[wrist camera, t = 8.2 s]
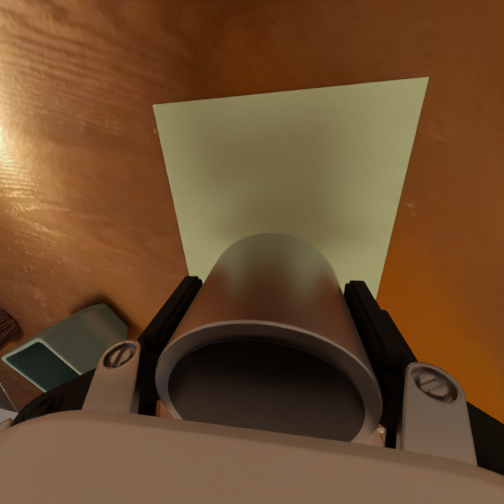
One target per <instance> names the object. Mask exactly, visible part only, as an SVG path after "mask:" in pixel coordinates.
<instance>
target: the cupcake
mask: <svg viewBox="0 0 504 504" xmlns="http://www.w3.org/2000/svg"><path fill="white" fill-rule="evenodd" d="M18 333H19V328H18V327H17V324H16V323H15V321H14V320H13V319H12V318H10V317H9V316H8V315H7V314H6V313H5V312H4V311H2V310H1V309H0V351H1V350H2V349H3V348H4V347H5V346H6V345H7V344H8V343H9V342H11V341H12V340H13V339H14V338H15V337H16V336H17V335H18Z"/></svg>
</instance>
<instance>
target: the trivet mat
mask: <svg viewBox="0 0 504 504" xmlns="http://www.w3.org/2000/svg"><path fill="white" fill-rule="evenodd" d="M428 79H429V77H422V78H412V79H402V80H392V81H382V82H373V83H363V84H353V85H343V86H333V87H323V88H313V89H304V90H294V91H284V92H274V93H264V94H254V95H245V96H235V97H225V98H215V99H205V100H195V101H185V102H176V103H166V104H156V105H153V109H154V114H155V119H156V123H157V128H158V132H159V137H160V142H161V146H162V151H163V156H164V160H165V165H166V170H167V174H168V179H169V183H170V188H171V193H172V197H173V202H174V207H175V211H176V216H177V220H178V225H179V230H180V234H181V239H182V244H183V248H184V253H185V258H186V262H187V267H188V271H189V276H198V278H199V279H201V280H202V283H204V282H205V280H206V278H207V277H208V275H209V273H210V272H211V270H212V268H213V267H214V265H215V263H216V261H217V260H218V258H219V257H220V255H221V254H222V253H223V252H224V251H225V250H226V249H227V248H228V247H229V246H231V245H232V244H234V243H235V242H237V241H239V240H241V239H243V238H246V237H249V236H252V235H256V234H263V233H280V234H285V235H290V236H293V237H297V238H299V239H301V240H304V241H306V242H308V243H309V244H311V245H312V246H314V247H315V248H317V249H318V250H319V251H320V252H321V253H322V254H323V255H324V256H325V257H326V258H327V260H328V261H329V263H330V264H331V266H332V268H333V270H334V272H335V274H336V277H337V280H338V282H339V285H340V287H341V290H342V292H343V294H344V288H345V284H346V283H349V282H350V280H359V281H364V282H365V283H366V285H367V287H368V288H369V290H370V292H371V293H372V295H373V297H374V299H375V300H376V296H377V292H378V288H379V283H380V279H381V275H382V271H383V267H384V263H385V258H386V254H387V250H388V246H389V242H390V237H391V233H392V229H393V225H394V221H395V217H396V212H397V208H398V204H399V200H400V196H401V192H402V187H403V183H404V179H405V175H406V171H407V166H408V162H409V158H410V154H411V150H412V146H413V141H414V137H415V133H416V129H417V125H418V121H419V116H420V112H421V108H422V104H423V100H424V95H425V91H426V87H427V83H428Z"/></svg>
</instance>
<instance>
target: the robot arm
mask: <svg viewBox="0 0 504 504" xmlns="http://www.w3.org/2000/svg"><path fill="white" fill-rule="evenodd" d="M202 285H203V283H202V280H201V279H199V278H198V276H186V277H185V278H184V279H183V281H182V282H181V283H180V285H179V286H178V287H177V288H176V290H175V291H174V292H173V294H172V295H171V296H170V298H169V299H168V300H167V301H166V303H165V304H164V305H163V307H162V308H161V309H160V311H159V312H158V313H157V315H156V316H155V317H154V318H153V320H152V321H151V322H150V324H149V325H148V326H147V328H146V329H145V330H144V331H143V333H142V334H141V335H140V337H139V338H138V339H137V341H136V340H124V341H121V342H119V343H116V344H115V345H113V346H111V347H110V348H109V349H107V350H106V351H105V352H104V353H103V355H102V356H101V358H100V360H99V362H98V365H97V367H96V368H94V369H92V370H90V371H88V372H86V373H84V374H82V375H80V376H78V377H76V378H74V379H72V380H70V381H68V382H65V383H63V384H61V385H59V386H57V387H55V388H53V389H51V390H49V391H47V392H45V393H43V394H42V395H40V396H38V397H37V398H35V399H34V400H32V401H31V402H30V403H28V404H27V405H26V406H25V407H24V408H23V409H22V410H21V411H20V412H19V414H18V415H17V416H16V418H15V419H14V420H12V419H11V418H9V419H7V420H5V421H4V422H2V423H0V504H504V424H503V423H501V422H499V421H498V420H496V419H495V418H493V417H491V416H490V415H488V414H486V413H485V412H483V411H482V410H480V409H478V408H477V407H475V406H474V405H472V404H470V403H469V402H467V401H466V398H465V394H464V392H463V389H462V387H461V386H460V385H459V383H458V382H457V381H456V380H455V379H454V378H453V377H452V376H451V375H450V374H448V373H447V372H445V371H444V370H442V369H441V368H439V367H436V366H434V365H432V364H428V363H425V362H418V361H417V359H416V357H415V356H414V354H413V353H412V351H411V349H410V348H409V346H408V344H407V343H406V341H405V340H404V338H403V336H402V335H401V333H400V331H399V330H398V328H397V327H396V325H395V323H394V322H393V320H392V319H391V317H390V315H389V314H388V312H387V311H385V310H381V309H380V307H379V305H378V304H377V302H376V300H375V299H374V297H373V295H372V293H371V292H370V290H369V288H368V287H367V285H366V283H365V282H364V281H359V280H350V282H349V283H346V284H345V288H344V294H343V295H344V297H345V300H346V302H347V305H348V308H349V310H350V313H351V315H352V318H353V320H354V323H355V325H356V328H357V330H358V333H359V335H360V338H361V341H362V343H363V346H364V348H365V351H366V353H367V356H368V358H369V361H370V363H371V366H372V369H373V371H374V374H375V376H376V379H377V381H378V384H379V386H380V389H381V393H382V397H383V413H382V417H381V421H380V424H381V425H382V426H383V427H384V434H383V442H382V447H378V446H372V445H365V444H358V443H351V442H343V441H336V440H329V439H322V438H315V437H307V436H300V435H293V434H286V433H278V432H271V431H263V430H256V429H248V428H241V427H233V426H225V425H218V424H210V423H203V422H195V421H187V420H179V419H171V418H163V417H160V401H161V399H160V397H159V395H158V392H157V389H156V385H155V369H156V365H157V362H158V358H159V357H160V355H161V353H162V352H163V350H164V348H165V347H166V345H167V343H168V342H169V340H170V338H171V337H172V335H173V333H174V332H175V330H176V328H177V327H178V325H179V323H180V322H181V320H182V318H183V317H184V315H185V313H186V312H187V310H188V308H189V307H190V305H191V303H192V302H193V300H194V298H195V297H196V295H197V293H198V292H199V290H200V288H201V287H202Z"/></svg>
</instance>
